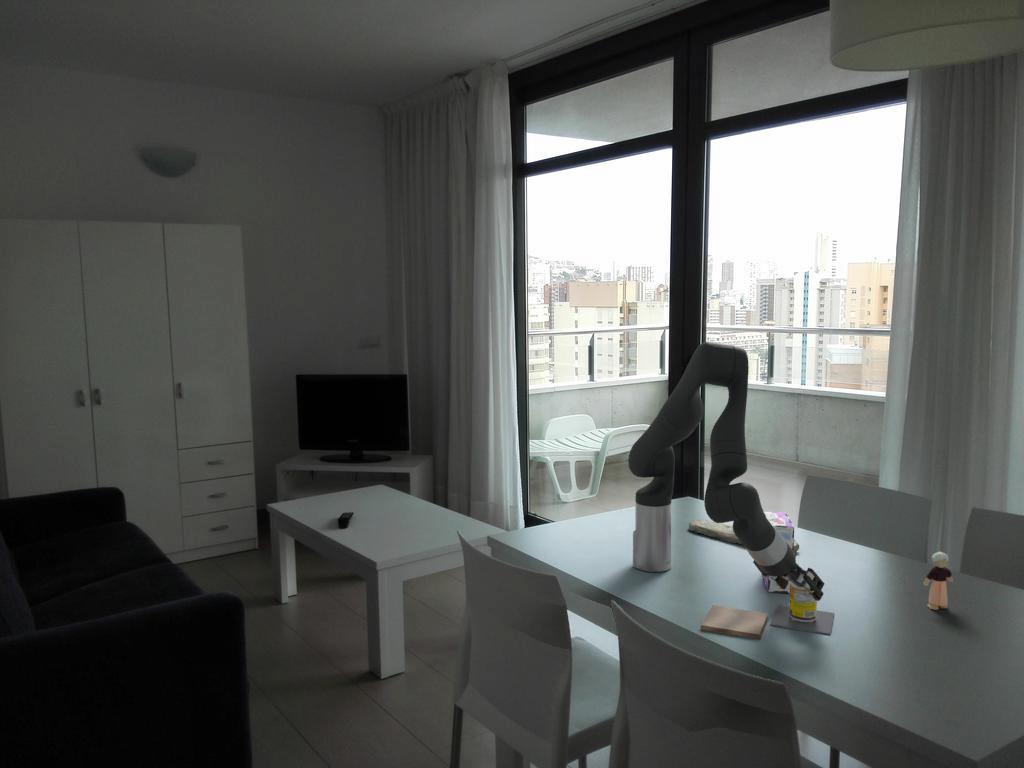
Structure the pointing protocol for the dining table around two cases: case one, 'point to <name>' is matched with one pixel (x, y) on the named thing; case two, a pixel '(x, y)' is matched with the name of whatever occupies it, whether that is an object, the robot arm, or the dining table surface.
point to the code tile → (818, 626)
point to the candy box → (787, 531)
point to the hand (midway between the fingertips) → (802, 591)
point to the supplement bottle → (802, 604)
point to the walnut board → (735, 622)
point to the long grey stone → (719, 531)
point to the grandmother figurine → (938, 581)
